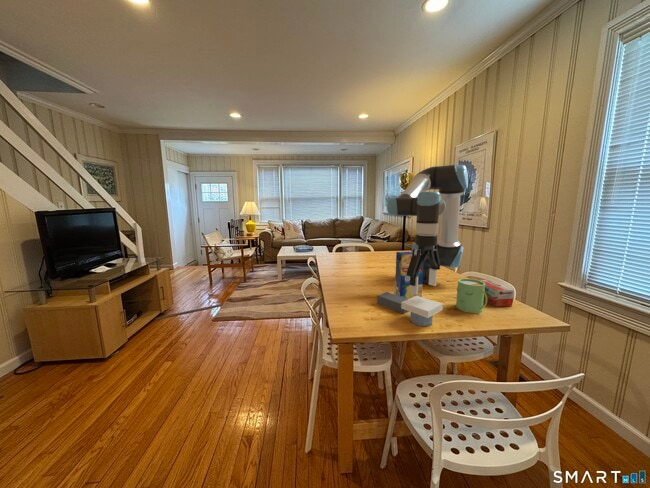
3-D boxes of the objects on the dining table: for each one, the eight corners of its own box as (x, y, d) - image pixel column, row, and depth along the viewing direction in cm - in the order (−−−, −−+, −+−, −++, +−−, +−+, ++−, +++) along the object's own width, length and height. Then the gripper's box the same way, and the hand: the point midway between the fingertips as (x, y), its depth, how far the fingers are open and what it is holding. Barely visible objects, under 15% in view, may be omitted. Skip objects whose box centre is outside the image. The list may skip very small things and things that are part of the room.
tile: (416, 301, 106) (416, 295, 105) (442, 309, 97) (443, 303, 97) (401, 308, 99) (401, 302, 98) (427, 318, 90) (428, 311, 90)
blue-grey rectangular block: (386, 300, 120) (386, 292, 120) (413, 309, 110) (413, 300, 109) (377, 303, 116) (377, 295, 115) (403, 314, 105) (404, 304, 105)
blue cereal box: (421, 298, 122) (424, 254, 118) (399, 299, 121) (401, 254, 117) (415, 293, 128) (417, 251, 125) (394, 294, 127) (396, 251, 124)
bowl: (417, 314, 104) (417, 303, 104) (436, 321, 98) (436, 309, 98) (406, 320, 99) (406, 308, 99) (425, 328, 93) (426, 315, 92)
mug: (450, 306, 113) (452, 280, 111) (466, 302, 117) (468, 277, 116) (476, 317, 102) (479, 289, 100) (493, 313, 106) (496, 285, 104)
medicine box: (512, 306, 113) (514, 289, 112) (496, 307, 112) (498, 290, 110) (486, 294, 128) (488, 279, 126) (472, 295, 127) (473, 280, 125)
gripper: (433, 230, 104) (430, 279, 108) (397, 236, 88) (395, 294, 92) (452, 232, 98) (448, 284, 102) (417, 239, 83) (414, 300, 86)
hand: (423, 289), depth 97 cm, fingers open, 13 cm apart
